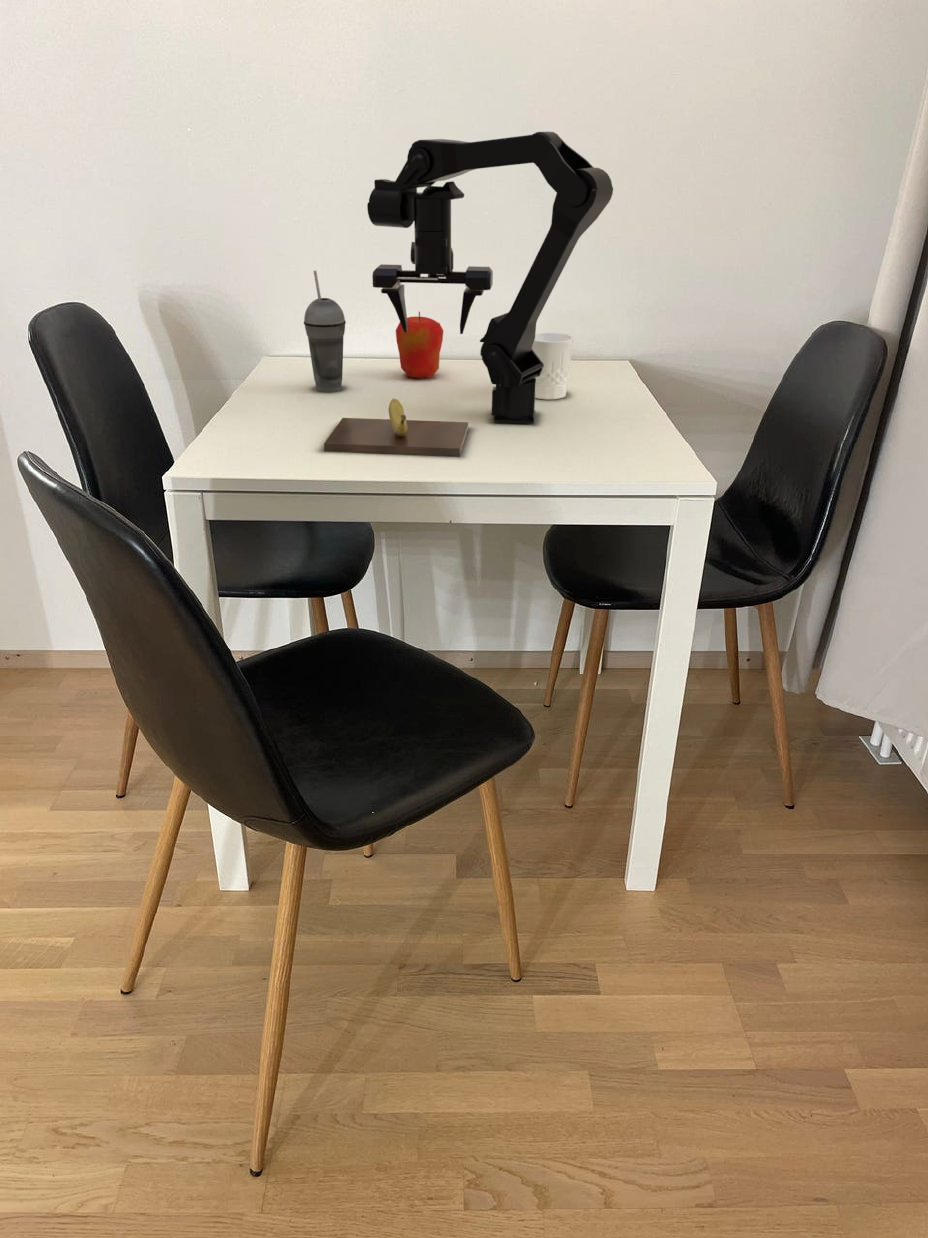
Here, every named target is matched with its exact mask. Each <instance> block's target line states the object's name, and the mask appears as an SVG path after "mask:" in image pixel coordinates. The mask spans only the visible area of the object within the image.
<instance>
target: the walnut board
mask: <svg viewBox="0 0 928 1238" xmlns="http://www.w3.org/2000/svg"><path fill="white" fill-rule="evenodd" d="M406 421H407V425H408V431H407V433H406V435H404V436H402V437H399V436H397V435H396V434H395V433H394V432H393V429H392V425H391V422H390V418H385V419H384V418H364V417H363V418H360V417H342V418H341V419H340V421H339V422H338V423H337V424H336V426H335V428H334V429H333V430H332V431H331V432H330V434H329V436H328V437H327V438H326V440H325V441H324V442H323V451H324V452H336V453H337V452H338V453H340V452H341V453H361V454H363V453H364V454H366V453H367V454H386V455H387V454H390V455H413V456H414V455H416V456H441V457H442V456H443V457H461V454H462V451H463V448H464V444H465V441H466V437H467V434H468V431H469V422H468V421H448V420H447V421H445V420H444V421H443V420H418V419H417V420H415V419H406Z"/></svg>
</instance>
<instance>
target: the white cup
mask: <svg viewBox="0 0 928 1238" xmlns="http://www.w3.org/2000/svg"><path fill="white" fill-rule="evenodd" d="M573 341H574V336H572V335H570V334H567V333H563V332H556V331H555V332H553V331H541V332H535V339H534V343H533V346H532V350H533V351H534V352H535V354H536V355H537V356H538V357H539V359H540V360H541V361H542V363H543V364H544V367H543V369H542V372H541V374H540V376H539V377H535V378H536V387H535V399H540V400H559V399H562V398H564V397H566V395H567V388H568V381H569V376H570V369H571V367H570V366H571V362H572V361H571V360H572V351H573V344H574V343H573Z"/></svg>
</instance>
